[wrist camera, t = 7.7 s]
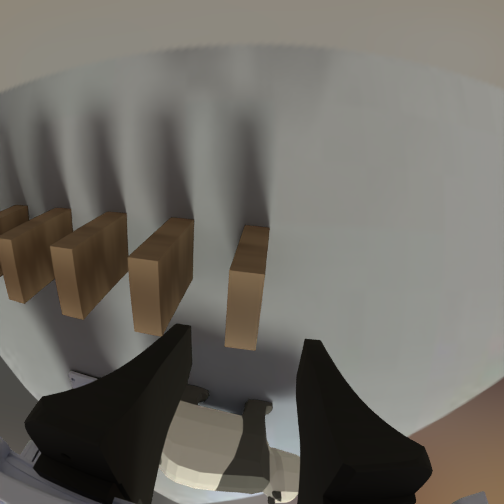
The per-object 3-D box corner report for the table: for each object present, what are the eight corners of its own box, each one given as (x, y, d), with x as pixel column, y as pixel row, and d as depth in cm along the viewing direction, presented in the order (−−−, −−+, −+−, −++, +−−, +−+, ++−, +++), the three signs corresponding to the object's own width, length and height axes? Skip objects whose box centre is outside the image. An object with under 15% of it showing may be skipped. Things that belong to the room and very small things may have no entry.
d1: (262, 287, 23) (255, 350, 16) (239, 284, 23) (224, 346, 16) (269, 227, 21) (265, 274, 14) (245, 224, 21) (229, 270, 15)
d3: (129, 270, 23) (83, 319, 17) (111, 267, 23) (62, 314, 17) (126, 213, 21) (71, 249, 15) (107, 211, 21) (50, 246, 15)
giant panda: (168, 410, 29) (140, 487, 20) (172, 375, 27) (138, 460, 18) (307, 440, 29) (309, 518, 20) (327, 409, 27) (336, 496, 18)
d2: (192, 278, 23) (161, 336, 16) (171, 276, 23) (134, 331, 16) (194, 219, 21) (157, 261, 15) (171, 217, 21) (127, 257, 15)
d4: (76, 261, 23) (24, 303, 17) (61, 259, 23) (9, 299, 17) (70, 208, 22) (11, 240, 15) (55, 207, 22) (-5, 237, 15)
